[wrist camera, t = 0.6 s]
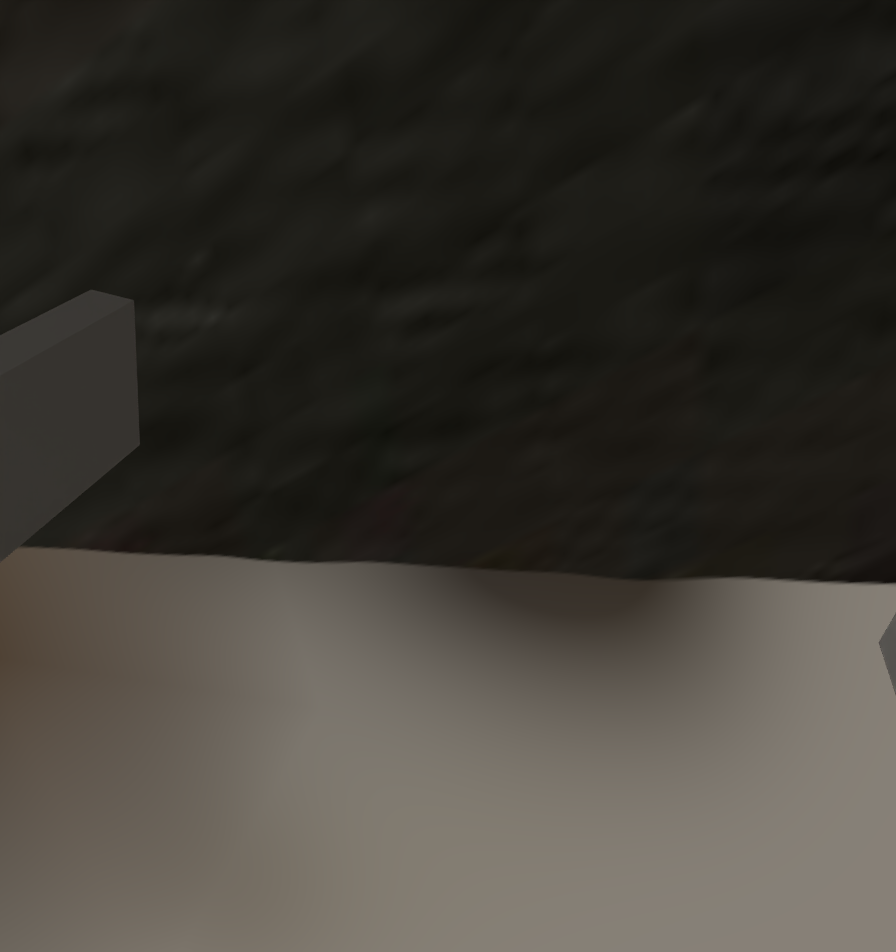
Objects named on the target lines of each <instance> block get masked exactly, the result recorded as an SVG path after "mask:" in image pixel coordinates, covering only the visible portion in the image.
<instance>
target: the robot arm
mask: <svg viewBox="0 0 896 952" xmlns="http://www.w3.org/2000/svg"><path fill="white" fill-rule="evenodd" d="M139 445H140V442H139V417H138V393H137V368H136V343H135V318H134V300H131V299H127V298H122V297H118V296H114V295H110V294H106V293H102V292H98V291H94V290H90V291H88V292H86V293H84V294H82V295H80V296H78V297H76V298H74V299H72V300H70V301H68V302H66V303H64V304H62V305H60V306H58V307H56V308H54V309H52V310H50V311H48V312H46V313H44V314H42V315H40V316H38V317H36V318H34V319H32V320H30V321H28V322H26V323H24V324H22V325H20V326H18V327H16V328H14V329H12V330H10V331H8V332H6V333H4V334H2V335H0V562H1V561H2V560H3V559H5V558H6V557H7V556H8V555H9V554H11V553H12V552H13V551H14V550H15V549H17V548H18V547H19V546H20V545H21V544H23V543H24V542H25V541H26V540H27V539H28V538H30V537H31V536H32V535H33V534H34V533H36V532H37V531H38V530H39V529H40V528H41V527H43V526H44V525H45V524H46V523H47V522H49V521H50V520H51V519H52V518H53V517H55V516H56V515H57V514H58V513H59V512H60V511H62V510H63V509H64V508H65V507H66V506H68V505H69V504H70V503H71V502H72V501H74V500H75V499H76V498H77V497H78V496H79V495H81V494H82V493H83V492H84V491H85V490H87V489H88V488H89V487H90V486H91V485H92V484H94V483H95V482H96V481H97V480H98V479H100V478H101V477H102V476H103V475H104V474H106V473H107V472H108V471H109V470H110V469H111V468H113V467H114V466H115V465H116V464H117V463H119V462H120V461H121V460H122V459H123V458H125V457H126V456H127V455H128V454H129V453H130V452H132V451H133V450H134V449H135V448H136V447H138V446H139ZM879 645H880V648H881V651H882V654H883V657H884V660H885V663H886V666H887V669H888V672H889V675H890V678H891V681H892V685H893V688H894V691H895V694H896V614H895V616H894V617H893V619H892V621H891V622H890V624H889V626H888V628H887V629H886V631H885V633H884V635H883V636H882V638H881V640H880V641H879Z"/></svg>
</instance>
